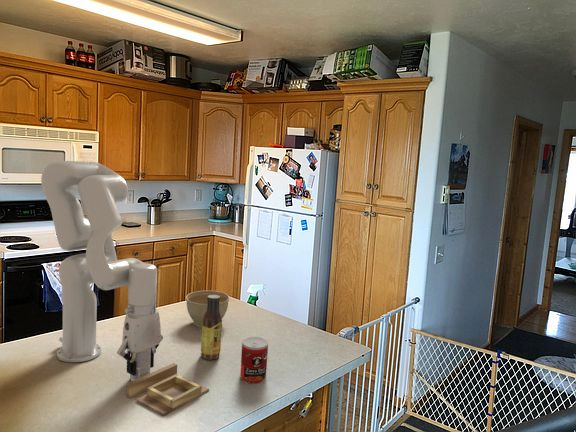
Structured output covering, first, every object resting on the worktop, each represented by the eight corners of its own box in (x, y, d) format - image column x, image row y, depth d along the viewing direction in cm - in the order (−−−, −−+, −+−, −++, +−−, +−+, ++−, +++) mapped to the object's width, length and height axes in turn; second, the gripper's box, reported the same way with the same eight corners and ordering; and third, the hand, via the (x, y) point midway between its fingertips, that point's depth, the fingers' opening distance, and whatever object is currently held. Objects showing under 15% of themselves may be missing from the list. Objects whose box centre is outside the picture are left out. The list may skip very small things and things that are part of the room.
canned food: (242, 385, 129) (244, 348, 127) (238, 371, 136) (240, 337, 135) (268, 383, 131) (271, 347, 129) (262, 370, 138) (265, 336, 137)
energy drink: (143, 372, 132) (144, 333, 130) (153, 379, 128) (155, 339, 127) (126, 378, 127) (127, 338, 126) (136, 385, 124) (138, 344, 123)
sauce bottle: (216, 361, 142) (219, 301, 139) (197, 358, 143) (200, 298, 140) (223, 353, 148) (226, 295, 145) (205, 350, 149) (207, 292, 147)
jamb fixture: (126, 396, 119) (127, 383, 118) (173, 374, 132) (173, 362, 132) (163, 416, 111) (164, 402, 110) (208, 390, 124) (209, 378, 124)
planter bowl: (183, 317, 177) (184, 291, 176) (224, 316, 182) (225, 290, 181) (186, 333, 162) (187, 304, 161) (231, 331, 167) (232, 303, 165)
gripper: (124, 319, 116) (122, 385, 118) (174, 304, 130) (172, 363, 133) (106, 312, 120) (105, 376, 122) (157, 298, 134) (155, 356, 137)
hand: (140, 369), depth 128 cm, fingers closed on energy drink, 5 cm apart
